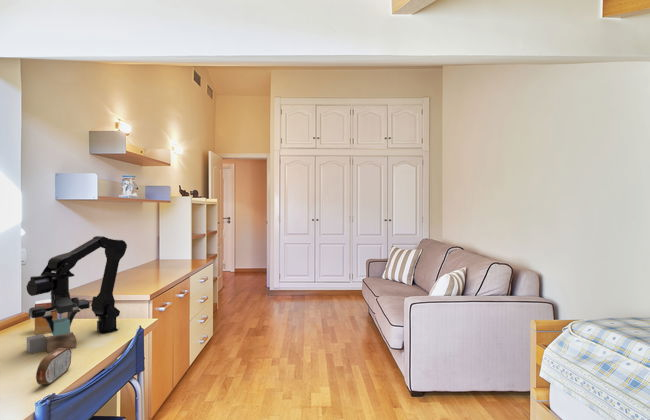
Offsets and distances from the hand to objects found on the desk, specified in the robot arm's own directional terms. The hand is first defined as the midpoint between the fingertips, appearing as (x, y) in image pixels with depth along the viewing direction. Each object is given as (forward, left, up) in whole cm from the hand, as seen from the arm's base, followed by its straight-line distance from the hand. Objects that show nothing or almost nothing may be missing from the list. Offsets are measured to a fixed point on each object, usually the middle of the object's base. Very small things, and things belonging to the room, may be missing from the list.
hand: (60, 330), depth 151 cm
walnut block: (0, 0, -7) cm, 7 cm away
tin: (+9, +29, -7) cm, 31 cm away
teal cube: (0, 0, -1) cm, 1 cm away
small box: (-1, -25, -7) cm, 26 cm away
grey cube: (+7, -3, -7) cm, 10 cm away
